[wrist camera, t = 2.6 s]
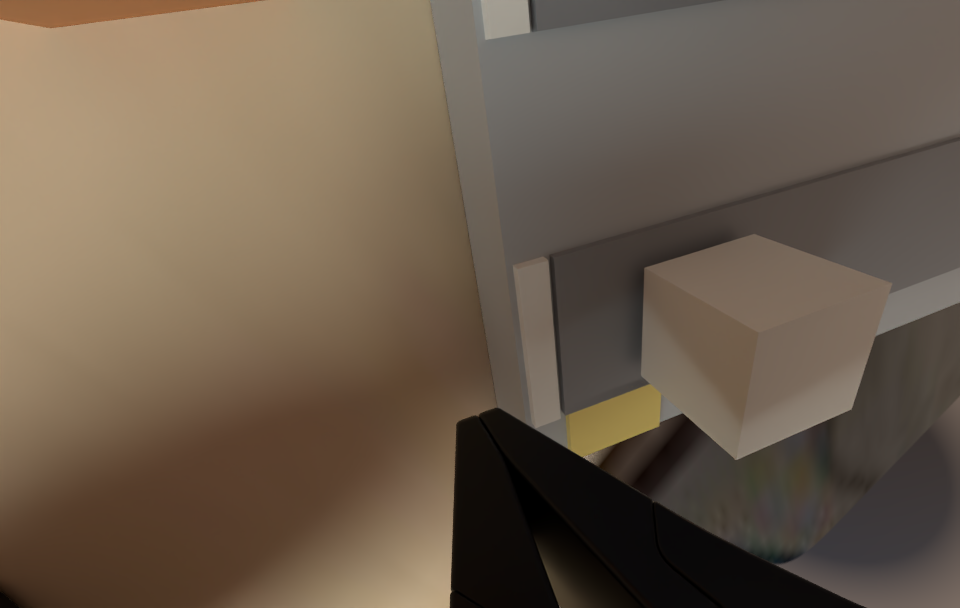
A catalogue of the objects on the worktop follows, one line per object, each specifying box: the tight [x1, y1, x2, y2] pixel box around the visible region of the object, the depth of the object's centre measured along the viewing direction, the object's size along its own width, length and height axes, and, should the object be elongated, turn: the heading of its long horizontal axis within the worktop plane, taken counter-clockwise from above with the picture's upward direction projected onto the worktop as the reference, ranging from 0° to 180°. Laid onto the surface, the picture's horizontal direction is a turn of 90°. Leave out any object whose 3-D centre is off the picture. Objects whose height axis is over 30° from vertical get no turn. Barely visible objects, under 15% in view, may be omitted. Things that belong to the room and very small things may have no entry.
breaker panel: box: [430, 0, 960, 457], centre depth 12 cm, size 16×17×3 cm
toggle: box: [641, 234, 892, 460], centre depth 10 cm, size 3×3×3 cm
